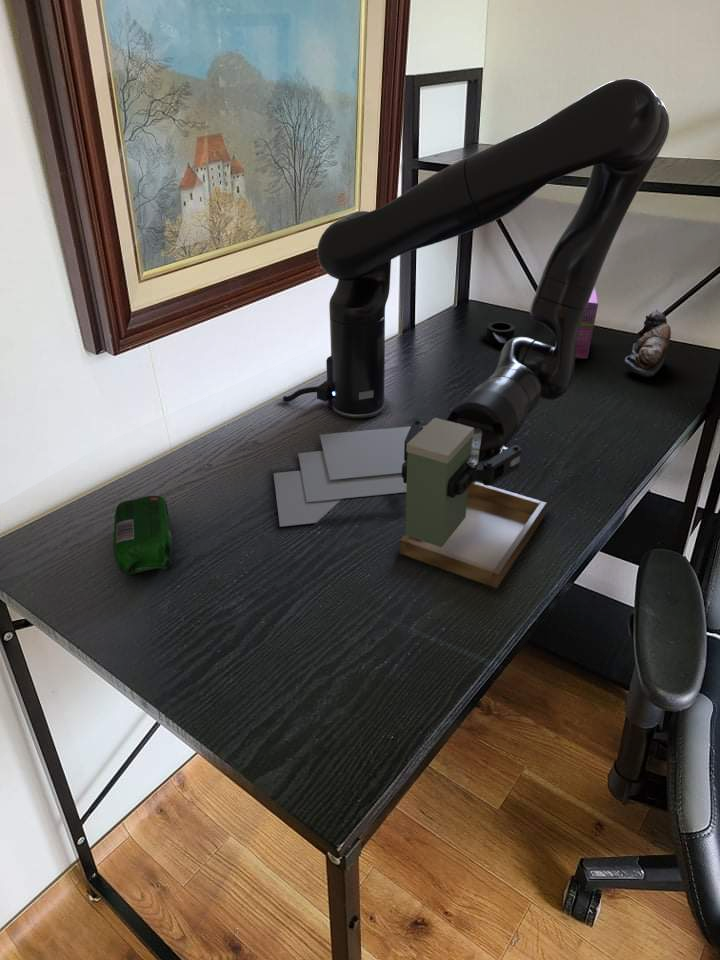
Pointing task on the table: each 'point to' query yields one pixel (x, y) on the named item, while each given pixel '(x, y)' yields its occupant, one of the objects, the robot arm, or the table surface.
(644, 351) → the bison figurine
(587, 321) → the box
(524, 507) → the desk tray
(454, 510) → the green lidded canister
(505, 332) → the duct tape
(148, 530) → the snack package
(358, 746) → the table surface
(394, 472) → the paper stack
